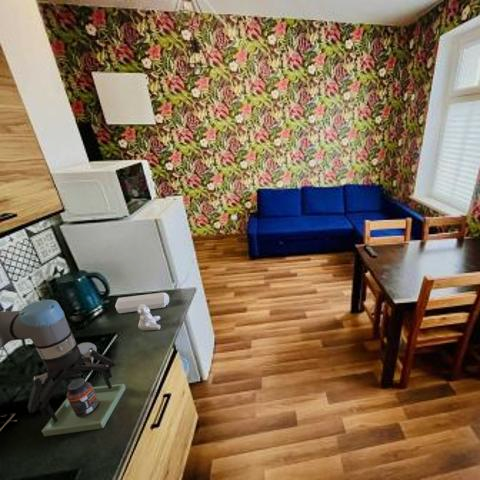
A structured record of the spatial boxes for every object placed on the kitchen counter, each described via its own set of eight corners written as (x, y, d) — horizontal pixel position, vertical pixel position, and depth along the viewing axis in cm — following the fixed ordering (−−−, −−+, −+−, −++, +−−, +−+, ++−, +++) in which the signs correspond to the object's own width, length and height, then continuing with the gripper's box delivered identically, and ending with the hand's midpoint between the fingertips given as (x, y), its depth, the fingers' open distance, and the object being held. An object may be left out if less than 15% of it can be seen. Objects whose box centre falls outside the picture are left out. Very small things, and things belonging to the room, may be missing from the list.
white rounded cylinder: (109, 311, 125) (166, 303, 131) (113, 297, 129) (167, 290, 135) (117, 317, 131) (170, 309, 137) (120, 303, 135) (172, 296, 141)
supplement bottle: (98, 412, 84) (86, 387, 80) (74, 422, 81) (60, 396, 77) (101, 397, 89) (90, 372, 85) (78, 405, 86) (65, 380, 82)
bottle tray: (44, 436, 78) (41, 431, 77) (75, 394, 90) (73, 389, 90) (103, 428, 80) (100, 423, 80) (125, 388, 93) (124, 383, 92)
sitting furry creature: (161, 330, 120) (154, 308, 115) (138, 336, 116) (131, 314, 111) (160, 317, 127) (155, 296, 122) (139, 323, 123) (133, 302, 119)
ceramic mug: (100, 352, 107) (93, 337, 104) (95, 367, 101) (88, 352, 98) (66, 362, 103) (58, 347, 100) (59, 378, 96) (50, 362, 93)
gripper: (-5, 389, 64) (31, 443, 72) (115, 331, 83) (132, 380, 91) (-9, 373, 68) (25, 426, 76) (106, 321, 87) (123, 369, 95)
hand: (83, 401), depth 84 cm, fingers open, 13 cm apart
